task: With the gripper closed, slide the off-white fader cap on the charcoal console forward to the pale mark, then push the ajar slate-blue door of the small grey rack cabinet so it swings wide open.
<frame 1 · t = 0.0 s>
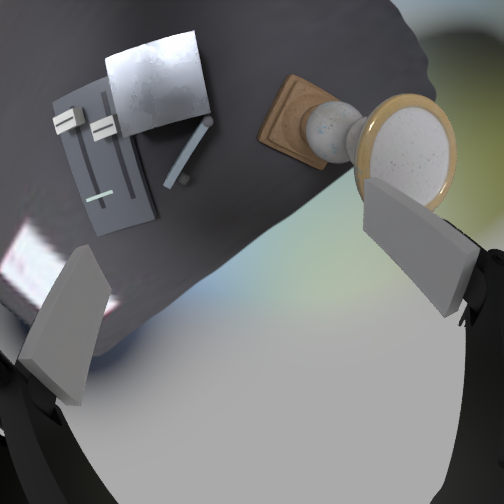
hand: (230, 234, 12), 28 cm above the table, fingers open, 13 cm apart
fader a: (69, 120, 26), point 4 cm above the table, slide at 0.0 cm
fader b: (106, 126, 28), point 4 cm above the table, slide at 3.0 cm
rack cabinet: (165, 86, 30), on the table
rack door: (193, 151, 32), point 4 cm above the table, hinge at 45.0°
console: (104, 156, 33), on the table
candle holder: (303, 122, 36), on the table
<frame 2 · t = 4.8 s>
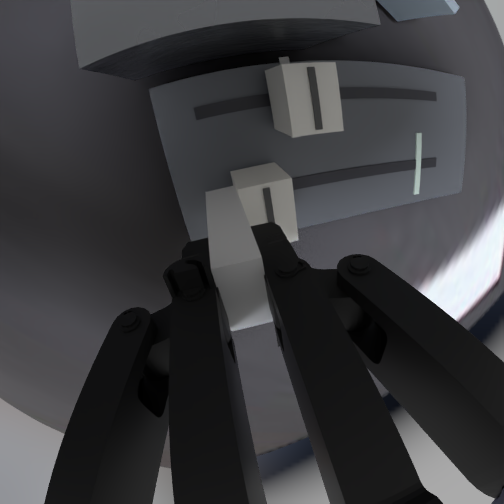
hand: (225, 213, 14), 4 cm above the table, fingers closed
fader a: (263, 204, 14), point 4 cm above the table, slide at 0.3 cm, touching gripper
fader b: (302, 97, 11), point 4 cm above the table, slide at 3.0 cm
console: (343, 135, 16), on the table
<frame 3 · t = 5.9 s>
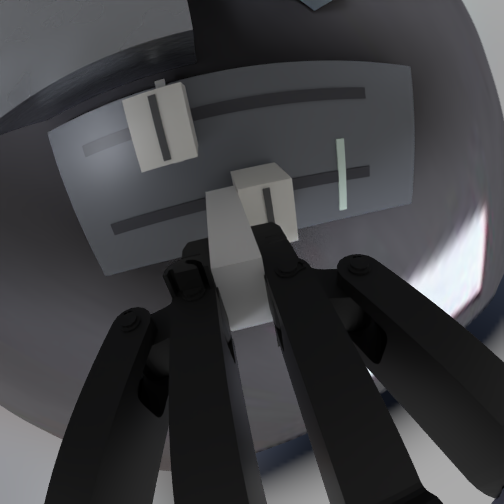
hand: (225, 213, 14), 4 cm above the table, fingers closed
fader a: (263, 204, 14), point 4 cm above the table, slide at 6.7 cm, touching gripper
fader b: (164, 124, 11), point 4 cm above the table, slide at 3.0 cm
rack cabinet: (101, 20, 9), on the table
console: (249, 150, 16), on the table
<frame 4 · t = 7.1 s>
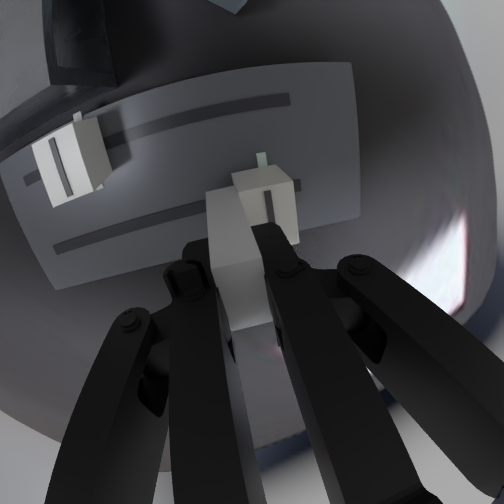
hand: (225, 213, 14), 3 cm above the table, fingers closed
fader a: (264, 206, 14), point 4 cm above the table, slide at 11.4 cm, touching gripper
fader b: (73, 159, 10), point 4 cm above the table, slide at 3.0 cm
rack cabinet: (37, 54, 9), on the table
console: (173, 169, 16), on the table
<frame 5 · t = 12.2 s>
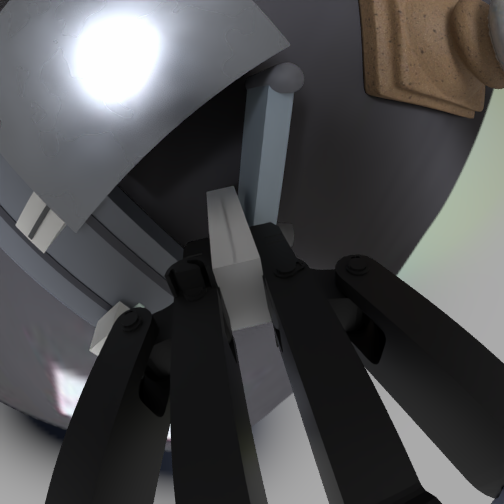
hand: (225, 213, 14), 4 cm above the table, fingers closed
fader a: (116, 335, 17), point 4 cm above the table, slide at 11.7 cm
fader b: (52, 208, 12), point 4 cm above the table, slide at 3.0 cm
rack cabinet: (131, 63, 12), on the table
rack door: (273, 168, 13), point 4 cm above the table, hinge at 47.6°, touching gripper
console: (94, 249, 18), on the table
candle holder: (417, 42, 13), on the table
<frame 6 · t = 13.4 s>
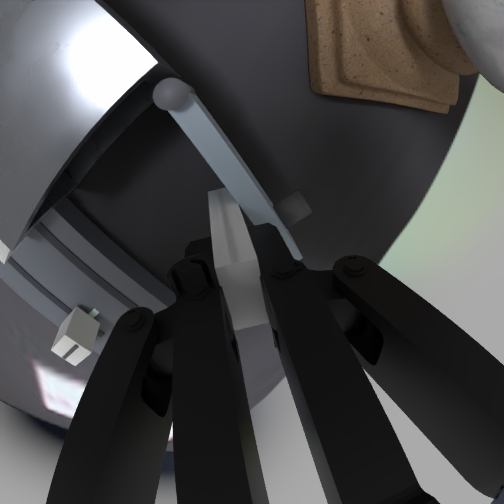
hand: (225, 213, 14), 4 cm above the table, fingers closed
fader a: (75, 337, 17), point 4 cm above the table, slide at 11.7 cm
fader b: (9, 224, 12), point 4 cm above the table, slide at 3.0 cm
rack cabinet: (74, 85, 12), on the table
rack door: (245, 157, 13), point 4 cm above the table, hinge at 85.4°, touching gripper
console: (56, 257, 18), on the table
candle holder: (378, 31, 12), on the table
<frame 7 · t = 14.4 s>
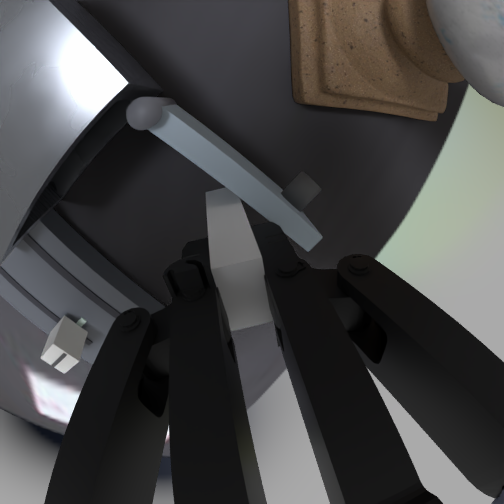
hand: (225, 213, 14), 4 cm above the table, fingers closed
fader a: (63, 345, 17), point 4 cm above the table, slide at 11.7 cm
rack cabinet: (58, 97, 12), on the table
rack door: (239, 151, 12), point 4 cm above the table, hinge at 101.5°
console: (44, 266, 17), on the table
candle holder: (365, 38, 13), on the table
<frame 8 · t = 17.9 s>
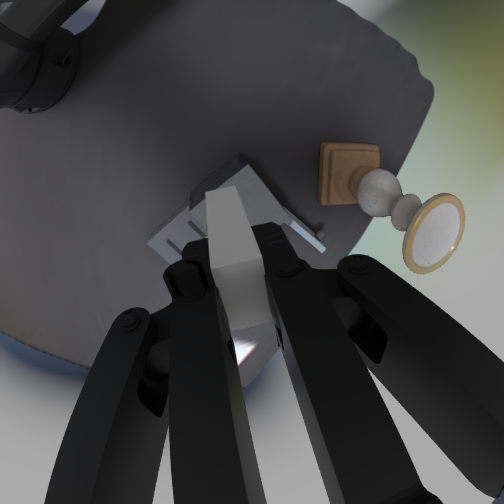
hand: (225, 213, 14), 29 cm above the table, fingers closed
rack cabinet: (234, 194, 44), on the table
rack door: (303, 224, 45), point 4 cm above the table, hinge at 101.5°
console: (210, 260, 50), on the table
candle holder: (346, 171, 45), on the table
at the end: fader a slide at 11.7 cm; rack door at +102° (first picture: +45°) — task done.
